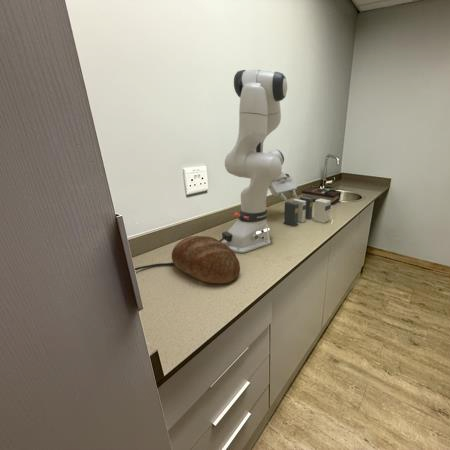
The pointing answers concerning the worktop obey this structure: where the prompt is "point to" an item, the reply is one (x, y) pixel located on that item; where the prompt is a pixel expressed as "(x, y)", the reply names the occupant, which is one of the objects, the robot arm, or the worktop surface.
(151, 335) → the worktop surface
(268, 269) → the worktop surface
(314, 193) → the decorative book
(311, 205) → the grey book right
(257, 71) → the robot arm
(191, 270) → the bread
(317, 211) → the white book
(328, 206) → the white book
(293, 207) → the grey book left
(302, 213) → the white book
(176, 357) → the worktop surface
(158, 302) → the worktop surface
